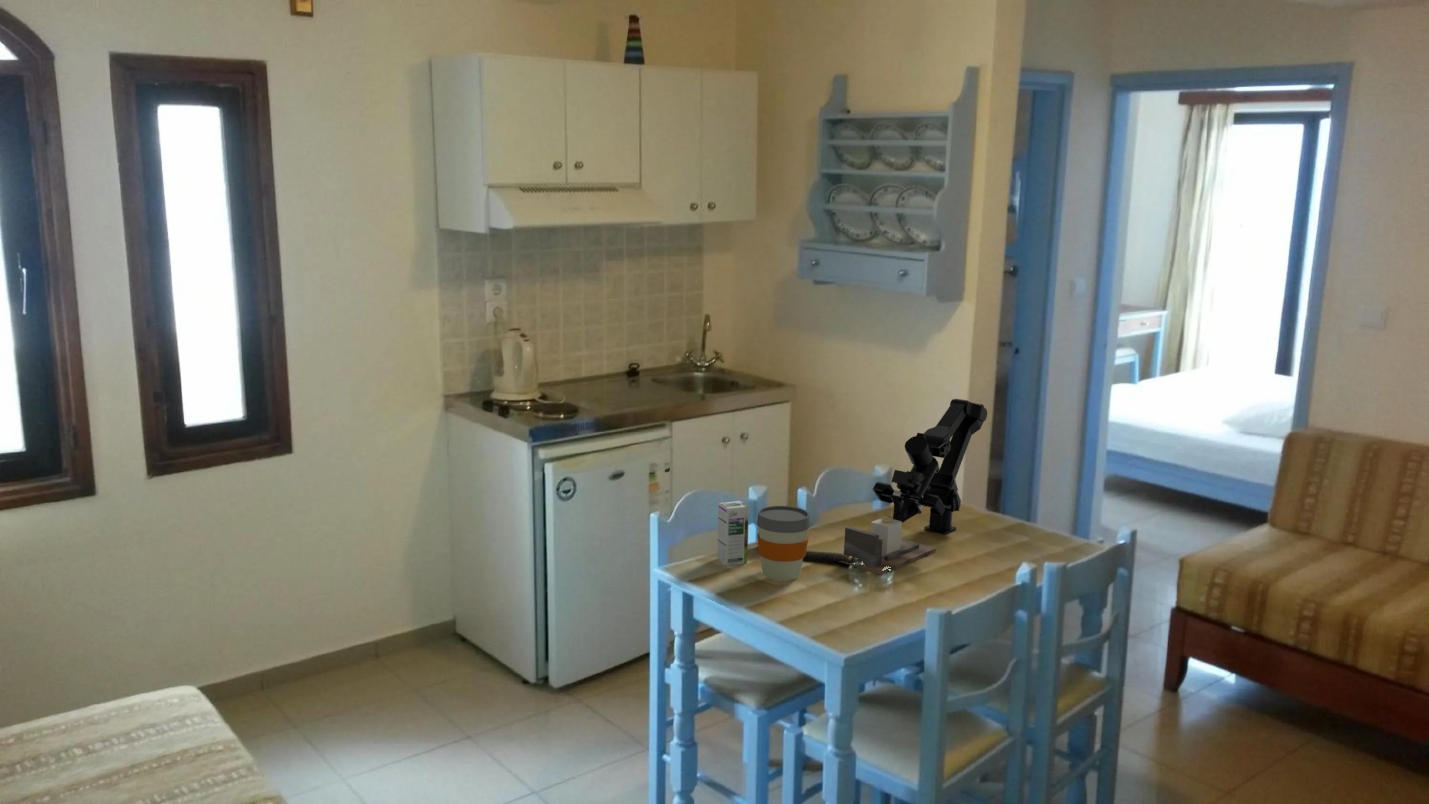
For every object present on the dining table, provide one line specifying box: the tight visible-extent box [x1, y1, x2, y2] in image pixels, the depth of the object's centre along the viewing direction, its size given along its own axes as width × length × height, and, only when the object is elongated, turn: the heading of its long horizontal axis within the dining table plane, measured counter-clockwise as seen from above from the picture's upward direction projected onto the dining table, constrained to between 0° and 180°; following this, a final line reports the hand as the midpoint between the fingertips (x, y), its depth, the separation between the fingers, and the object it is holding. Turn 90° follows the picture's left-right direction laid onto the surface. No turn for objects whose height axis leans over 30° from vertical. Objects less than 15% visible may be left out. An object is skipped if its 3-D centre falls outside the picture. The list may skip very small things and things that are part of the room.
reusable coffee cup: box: [756, 505, 811, 582], centre depth 257 cm, size 13×13×15 cm
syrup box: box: [716, 500, 749, 567], centre depth 264 cm, size 6×6×14 cm
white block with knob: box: [870, 515, 903, 557], centre depth 271 cm, size 6×5×9 cm
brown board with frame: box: [834, 526, 937, 576], centre depth 272 cm, size 24×14×9 cm, turn 137°
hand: (893, 526), depth 273 cm, fingers closed, pressing on white block with knob
